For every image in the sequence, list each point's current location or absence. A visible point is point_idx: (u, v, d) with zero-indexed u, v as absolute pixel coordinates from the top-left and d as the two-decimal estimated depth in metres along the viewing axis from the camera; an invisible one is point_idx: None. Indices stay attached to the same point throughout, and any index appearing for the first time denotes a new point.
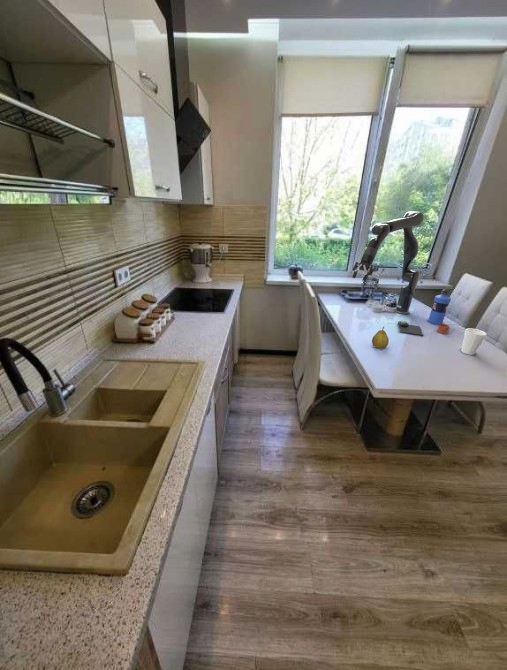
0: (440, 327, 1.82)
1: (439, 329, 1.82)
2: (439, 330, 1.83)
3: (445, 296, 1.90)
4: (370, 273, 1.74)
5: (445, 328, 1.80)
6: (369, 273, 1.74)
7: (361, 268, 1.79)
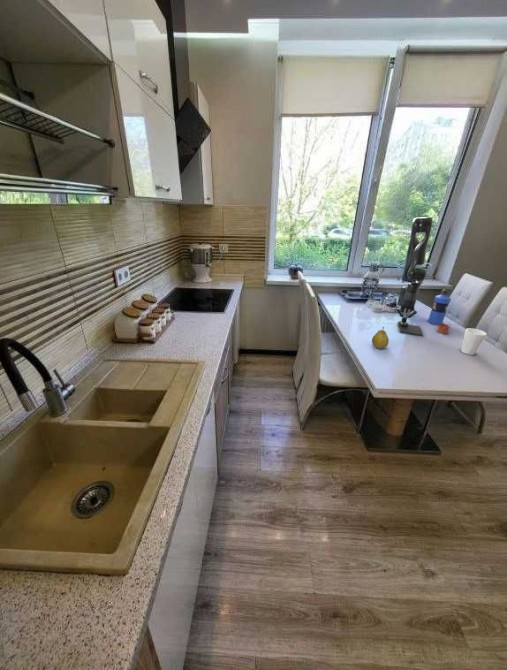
0: (440, 327, 1.82)
1: (439, 329, 1.82)
2: (439, 330, 1.83)
3: (445, 296, 1.90)
4: None
5: (445, 328, 1.80)
6: (410, 317, 1.87)
7: (407, 310, 1.86)
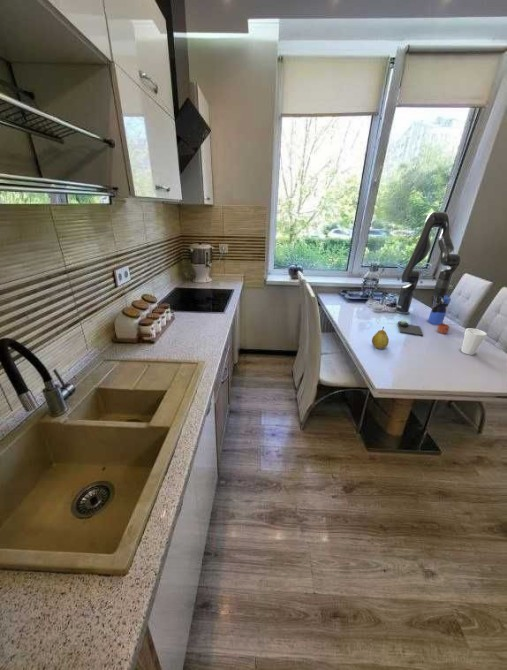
0: (440, 327, 1.82)
1: (439, 329, 1.82)
2: (439, 330, 1.83)
3: (445, 296, 1.90)
4: None
5: (445, 328, 1.80)
6: (436, 306, 1.76)
7: None
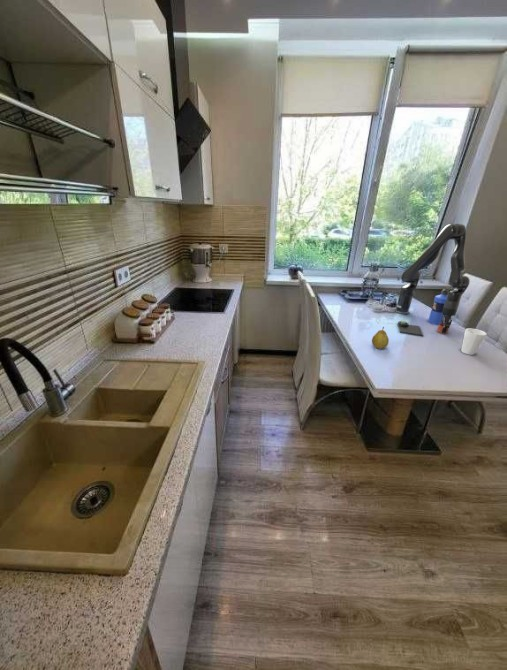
0: (440, 327, 1.82)
1: (439, 329, 1.82)
2: (439, 330, 1.83)
3: (445, 296, 1.90)
4: (446, 326, 1.76)
5: None
6: (444, 326, 1.77)
7: (444, 319, 1.81)
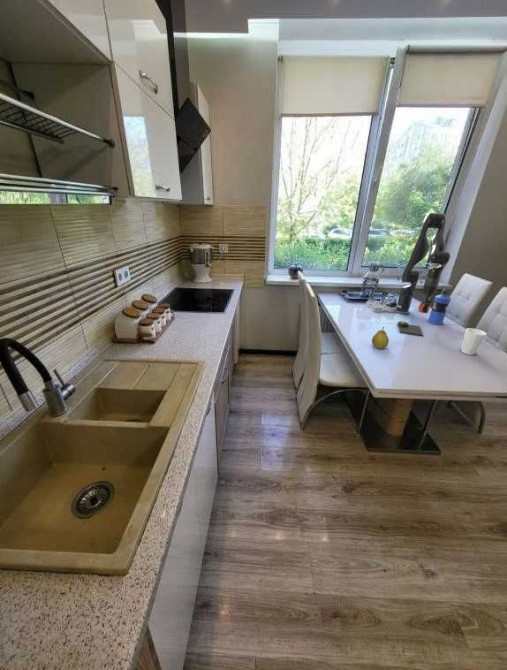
0: (421, 306, 1.75)
1: (420, 308, 1.76)
2: (420, 309, 1.76)
3: (445, 296, 1.90)
4: (426, 304, 1.70)
5: None
6: (425, 305, 1.70)
7: None
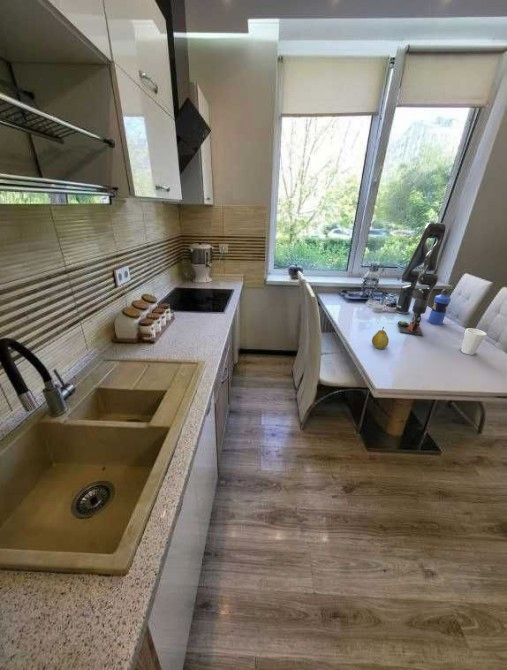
0: (411, 325, 1.81)
1: (410, 327, 1.82)
2: (410, 328, 1.82)
3: (445, 296, 1.90)
4: (416, 324, 1.76)
5: None
6: (414, 324, 1.76)
7: None
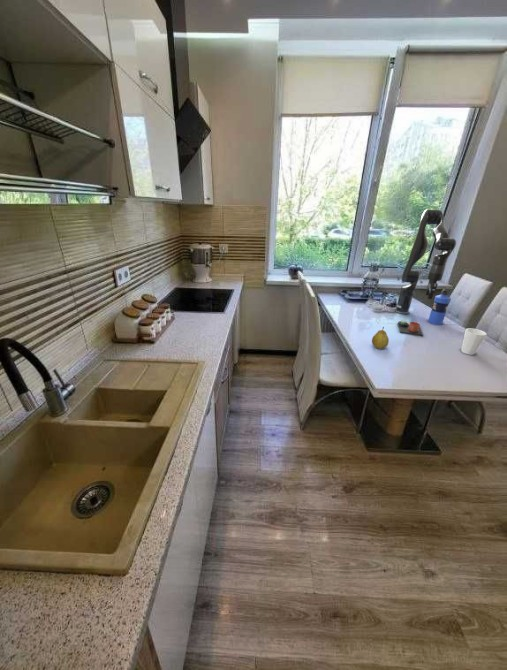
0: (411, 325, 1.81)
1: (410, 327, 1.82)
2: (410, 328, 1.82)
3: (445, 296, 1.90)
4: (432, 291, 1.70)
5: (415, 326, 1.79)
6: (430, 291, 1.70)
7: None
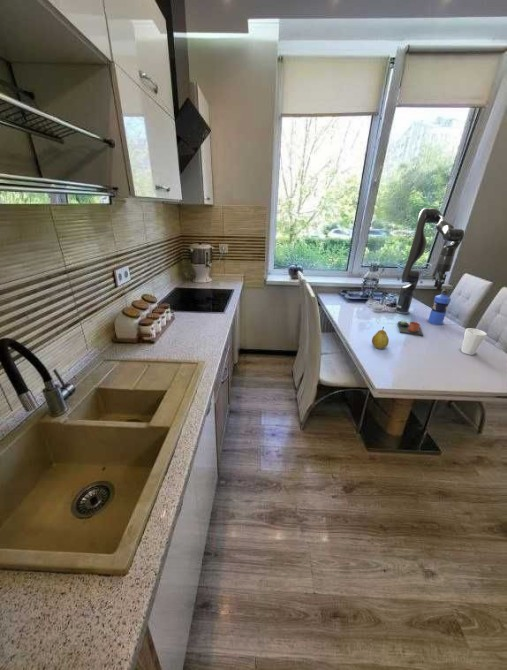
0: (411, 325, 1.81)
1: (410, 327, 1.82)
2: (410, 328, 1.82)
3: (445, 296, 1.90)
4: (441, 282, 1.70)
5: (415, 326, 1.79)
6: (439, 282, 1.70)
7: (438, 277, 1.76)
